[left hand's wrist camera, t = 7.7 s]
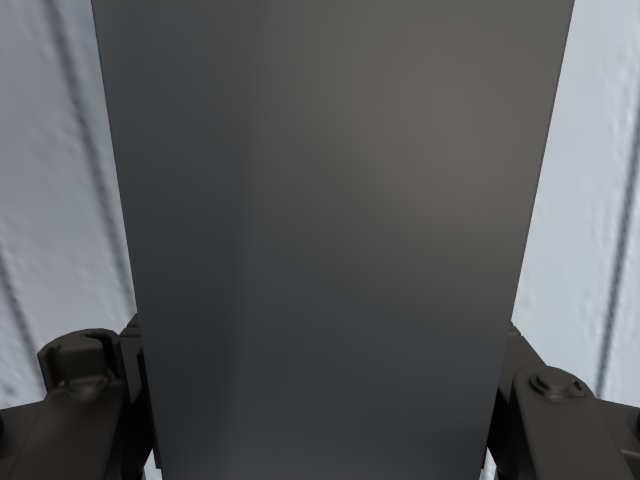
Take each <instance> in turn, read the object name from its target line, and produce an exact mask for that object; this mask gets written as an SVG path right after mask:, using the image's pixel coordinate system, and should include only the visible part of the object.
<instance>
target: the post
mask: <svg viewBox="0 0 640 480" xmlns="http://www.w3.org/2000/svg"><path fill="white" fill-rule="evenodd" d="M574 1H575V0H91V4H92V11H93V17H94V24H95V31H96V37H97V44H98V51H99V58H100V64H101V71H102V78H103V84H104V91H105V98H106V104H107V111H108V118H109V125H110V131H111V138H112V145H113V151H114V158H115V165H116V171H117V178H118V185H119V191H120V198H121V205H122V212H123V218H124V225H125V232H126V238H127V245H128V252H129V258H130V265H131V272H132V279H133V285H134V292H135V299H136V305H137V312H138V319H139V325H140V332H141V339H142V346H143V352H144V359H145V366H146V372H147V379H148V386H149V392H150V399H151V406H152V413H153V419H154V426H155V433H156V439H157V446H158V453H159V459H160V466H161V473H162V480H479V478H480V473H481V468H482V463H483V458H484V453H485V448H486V443H487V438H488V433H489V428H490V423H491V418H492V413H493V408H494V403H495V398H496V393H497V388H498V383H499V378H500V373H501V368H502V363H503V358H504V353H505V348H506V343H507V338H508V333H509V328H510V323H511V318H512V313H513V307H514V302H515V297H516V292H517V287H518V282H519V277H520V272H521V267H522V262H523V257H524V252H525V247H526V242H527V237H528V232H529V227H530V222H531V217H532V212H533V207H534V202H535V197H536V192H537V187H538V182H539V177H540V172H541V167H542V162H543V157H544V152H545V147H546V142H547V137H548V132H549V127H550V122H551V117H552V112H553V107H554V102H555V97H556V92H557V87H558V82H559V77H560V72H561V67H562V62H563V57H564V52H565V47H566V42H567V37H568V32H569V27H570V21H571V16H572V11H573V6H574Z"/></svg>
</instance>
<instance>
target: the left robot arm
mask: <svg viewBox="0 0 640 480" xmlns="http://www.w3.org/2000/svg"><path fill="white" fill-rule="evenodd" d="M37 357H38V360H39V364H40V368H41V372H42V375H43V379H44V383H45V386H46V390H47V395H46V397H45V399H44V400H43V401H39V402H35V403H30V404H26V405H21V406H16V407H11V408H6V409H2V410H0V480H146V477H145V471H144V465H145V463H146V461H147V459H148V457H149V454H150V452H151V450H152V448H153V454H154V459H155V465H156V469H161V466H160V459H159V453H158V446H157V439H156V433H155V426H154V419H153V413H152V406H151V399H150V392H149V386H148V379H147V372H146V366H145V359H144V352H143V346H142V339H141V332H140V325H139V319H138V313H136V314H135V316H134V317H133V318H132V319H131V321H130V322H129V323H128V324H127V328H124V329H123V331H122V332H121V333H120V334H119V335H118V334H116V333H115V332H114V331H112V330H107V329H103V328H96V329H84V330H80V331H75V332H71V333H69V334H66V335H63V336H61V337H58V338H56V339H55V340H53V341H51V342H50V343H48V344H46V345H45V346H44V347H43V348H42V349H41V350H40V351H39V352H38V353H37ZM487 446H488V448H489V451H490V453H491V455H492V457H493V459H494V462H495V464H496V471H495V477H494V480H640V408H638V407H633V406H629V405H624V404H619V403H614V402H609V401H605V400H601V399H597V398H595V396H594V394H593V392H592V391H591V390H590V389H589V387H588V386H587V385H586V384H585V383H584V382H583V381H581V380H580V379H579V378H577V377H576V376H574V375H573V374H570V373H568V372H566V371H564V370H561V369H559V368H555V367H551V366H547V365H546V364H545V363H544V362H543V360H542V359H541V358H540V357H539V355H538V354H537V353H536V352H535V350H534V349H533V348H532V347H531V345H530V344H529V343H528V342H527V340H526V339H525V338H524V337H523V336H521V333H520V332H519V330H518V329H517V328H516V327H515V326H513V323H512V322H511V323H510V328H509V333H508V338H507V343H506V348H505V353H504V358H503V363H502V368H501V373H500V378H499V383H498V388H497V393H496V398H495V403H494V408H493V413H492V418H491V423H490V428H489V433H488V438H487V443H486V448H485V453H484V458H483V463H482V468H481V469H484V464H485V458H486V452H487Z"/></svg>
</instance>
